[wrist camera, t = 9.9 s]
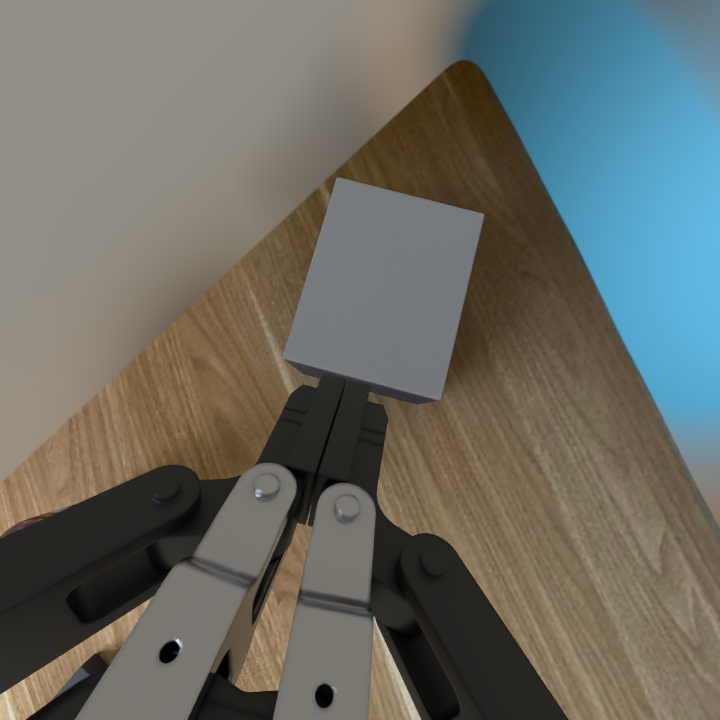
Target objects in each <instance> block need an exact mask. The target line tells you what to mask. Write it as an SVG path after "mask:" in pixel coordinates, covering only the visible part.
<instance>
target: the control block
mask: <svg viewBox="0 0 720 720" xmlns="http://www.w3.org/2000/svg"><path fill="white" fill-rule="evenodd" d="M106 667H109V666H108V665H107V664H106V663H105V662H104V661H103V660H102V659H101V658H100V657H99V656H98V655H97V654H94V655H93V656H92V657H91V658H90V659H89V660H88V661H86V662H85V663H84V664H83V665H82V666H81V667H80V668H79V669H78V671H77V672H76V673H75V674H74V675H73V676H72V678H71V679H70V680H69V681H68V682H67V684H66V685H65V686H64V687H63V688H62V689H61V691H60V692H59V693H58V694H57V695H56V696H55V698H56V697H57V696H59V695H60V694H62V693H63V692H64V691H66V690H67V689H69V688H70V687H72V686H73V685H74V684H76V683H78V682H79V681H81V680H83V679H85V678H86V677H88V676H90V675H91V674H93V673H96V672H98V671H100V670H102V669H104V668H106ZM55 698H54V699H55Z"/></svg>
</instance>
